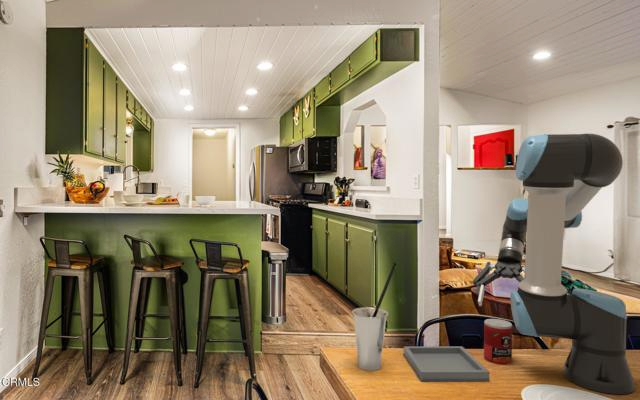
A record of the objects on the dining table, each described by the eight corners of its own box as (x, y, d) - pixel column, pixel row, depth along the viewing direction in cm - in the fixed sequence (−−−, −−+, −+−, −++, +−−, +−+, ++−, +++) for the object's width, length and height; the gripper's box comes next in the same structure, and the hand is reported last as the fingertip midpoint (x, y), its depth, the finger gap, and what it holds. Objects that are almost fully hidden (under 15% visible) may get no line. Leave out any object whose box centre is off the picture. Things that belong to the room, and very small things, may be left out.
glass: (395, 375, 107) (397, 263, 107) (353, 375, 107) (354, 263, 107) (388, 359, 118) (389, 257, 118) (350, 358, 117) (351, 257, 117)
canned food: (493, 365, 114) (494, 327, 114) (478, 354, 122) (478, 318, 122) (517, 364, 115) (518, 326, 115) (501, 353, 123) (501, 318, 123)
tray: (461, 354, 122) (461, 346, 122) (489, 381, 104) (489, 371, 104) (403, 354, 121) (403, 346, 121) (421, 381, 103) (421, 372, 103)
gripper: (552, 264, 134) (548, 320, 122) (474, 258, 148) (463, 307, 136) (551, 250, 130) (546, 306, 117) (471, 245, 144) (459, 294, 131)
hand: (502, 307), depth 126 cm, fingers open, 13 cm apart
